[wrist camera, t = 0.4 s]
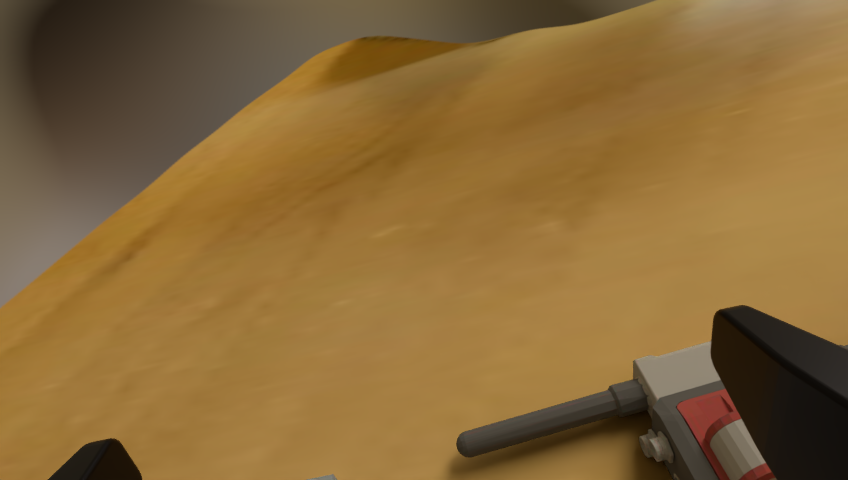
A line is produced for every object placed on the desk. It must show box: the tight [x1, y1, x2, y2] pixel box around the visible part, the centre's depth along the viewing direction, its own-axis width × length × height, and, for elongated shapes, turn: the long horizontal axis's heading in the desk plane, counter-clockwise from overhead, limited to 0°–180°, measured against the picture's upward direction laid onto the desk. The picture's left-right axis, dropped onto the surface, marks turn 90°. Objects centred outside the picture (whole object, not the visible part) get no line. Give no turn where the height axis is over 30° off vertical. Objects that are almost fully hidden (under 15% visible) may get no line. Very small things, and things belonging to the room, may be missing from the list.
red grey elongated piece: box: [456, 341, 848, 480], centre depth 21 cm, size 9×4×20 cm
